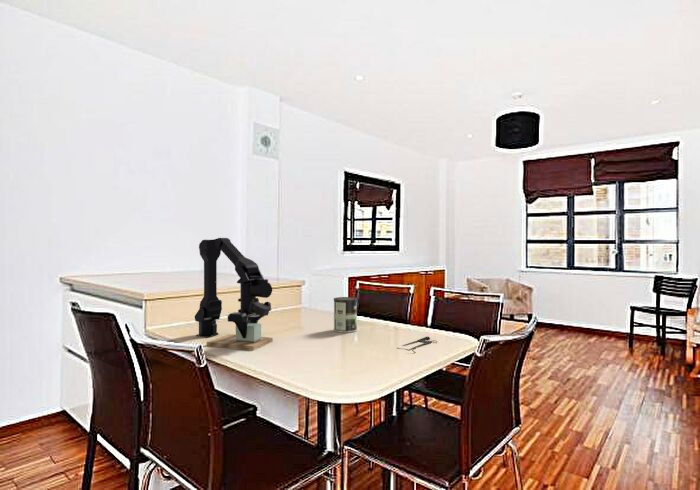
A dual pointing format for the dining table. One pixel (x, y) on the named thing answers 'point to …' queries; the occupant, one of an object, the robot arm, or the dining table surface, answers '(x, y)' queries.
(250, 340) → the block
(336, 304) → the coffee can
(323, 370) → the dining table surface
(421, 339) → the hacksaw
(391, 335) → the dining table surface
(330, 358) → the dining table surface
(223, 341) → the oak board
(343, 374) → the dining table surface
